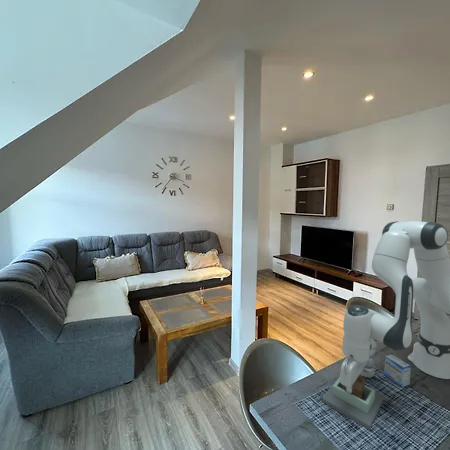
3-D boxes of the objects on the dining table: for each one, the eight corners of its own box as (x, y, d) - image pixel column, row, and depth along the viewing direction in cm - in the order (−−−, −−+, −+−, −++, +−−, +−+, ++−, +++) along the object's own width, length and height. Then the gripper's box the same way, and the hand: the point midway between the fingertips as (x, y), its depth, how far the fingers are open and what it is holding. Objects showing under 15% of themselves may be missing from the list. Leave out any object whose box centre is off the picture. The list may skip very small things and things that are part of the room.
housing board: (340, 377, 105) (341, 366, 104) (384, 398, 94) (384, 386, 93) (322, 401, 93) (322, 389, 92) (369, 430, 81) (370, 416, 81)
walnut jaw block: (347, 389, 96) (348, 370, 96) (363, 398, 92) (365, 378, 91) (343, 395, 94) (344, 375, 93) (360, 404, 89) (361, 384, 88)
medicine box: (383, 374, 106) (384, 356, 105) (390, 372, 108) (392, 353, 107) (402, 387, 99) (403, 367, 98) (409, 384, 100) (411, 365, 99)
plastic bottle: (358, 367, 111) (360, 325, 109) (375, 374, 107) (378, 330, 104) (355, 375, 106) (357, 331, 104) (373, 382, 102) (375, 337, 99)
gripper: (355, 367, 81) (353, 405, 83) (373, 341, 95) (371, 374, 97) (335, 358, 86) (334, 395, 87) (356, 335, 100) (354, 367, 102)
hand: (354, 384), depth 92 cm, fingers open, 8 cm apart
